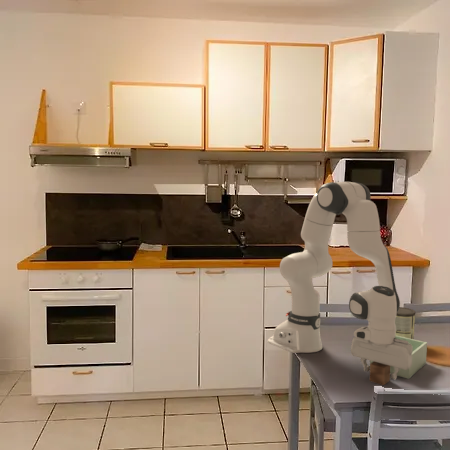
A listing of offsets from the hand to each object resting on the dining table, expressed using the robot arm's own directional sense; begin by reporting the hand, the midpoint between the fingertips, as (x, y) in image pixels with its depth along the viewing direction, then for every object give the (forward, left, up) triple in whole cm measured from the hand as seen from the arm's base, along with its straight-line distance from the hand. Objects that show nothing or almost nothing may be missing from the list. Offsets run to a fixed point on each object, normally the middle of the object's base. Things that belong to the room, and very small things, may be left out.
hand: (379, 374), depth 162 cm
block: (0, 0, -2) cm, 2 cm away
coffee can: (-8, +41, -2) cm, 42 cm away
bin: (0, +17, -2) cm, 17 cm away
